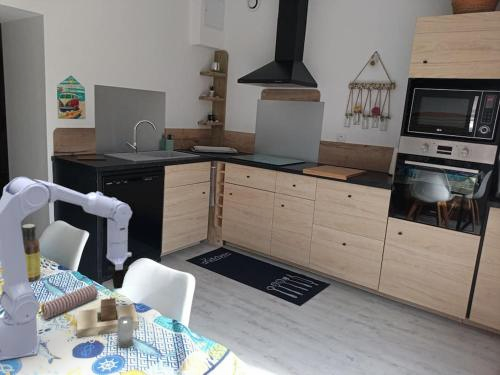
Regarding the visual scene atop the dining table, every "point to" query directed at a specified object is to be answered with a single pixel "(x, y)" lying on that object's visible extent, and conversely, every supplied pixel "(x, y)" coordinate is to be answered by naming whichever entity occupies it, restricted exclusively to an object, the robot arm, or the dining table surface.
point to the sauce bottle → (31, 251)
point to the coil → (69, 301)
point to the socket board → (91, 326)
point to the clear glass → (125, 332)
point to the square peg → (108, 309)
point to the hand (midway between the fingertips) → (117, 282)
